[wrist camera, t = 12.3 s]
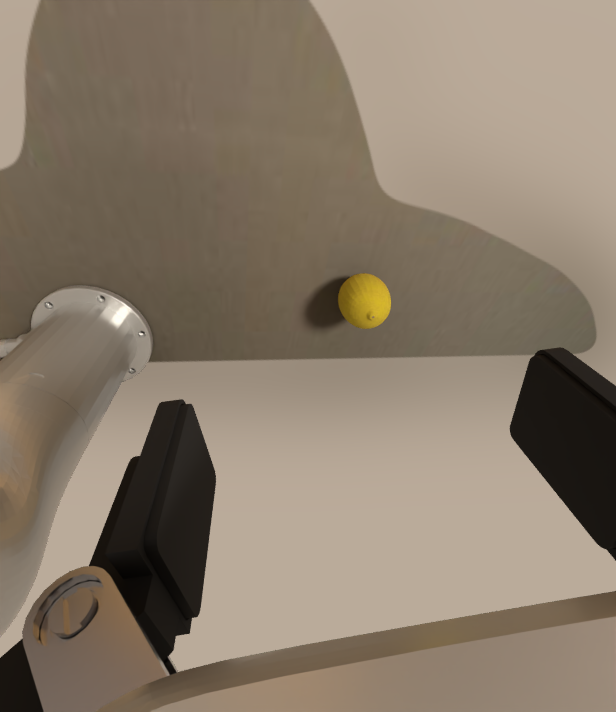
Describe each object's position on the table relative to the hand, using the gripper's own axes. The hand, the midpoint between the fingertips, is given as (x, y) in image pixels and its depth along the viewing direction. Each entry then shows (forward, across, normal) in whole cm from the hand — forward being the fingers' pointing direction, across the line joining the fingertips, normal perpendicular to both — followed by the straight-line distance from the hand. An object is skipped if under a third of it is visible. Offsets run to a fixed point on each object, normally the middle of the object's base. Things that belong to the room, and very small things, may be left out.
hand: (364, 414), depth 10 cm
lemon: (+32, -7, +10) cm, 35 cm away
